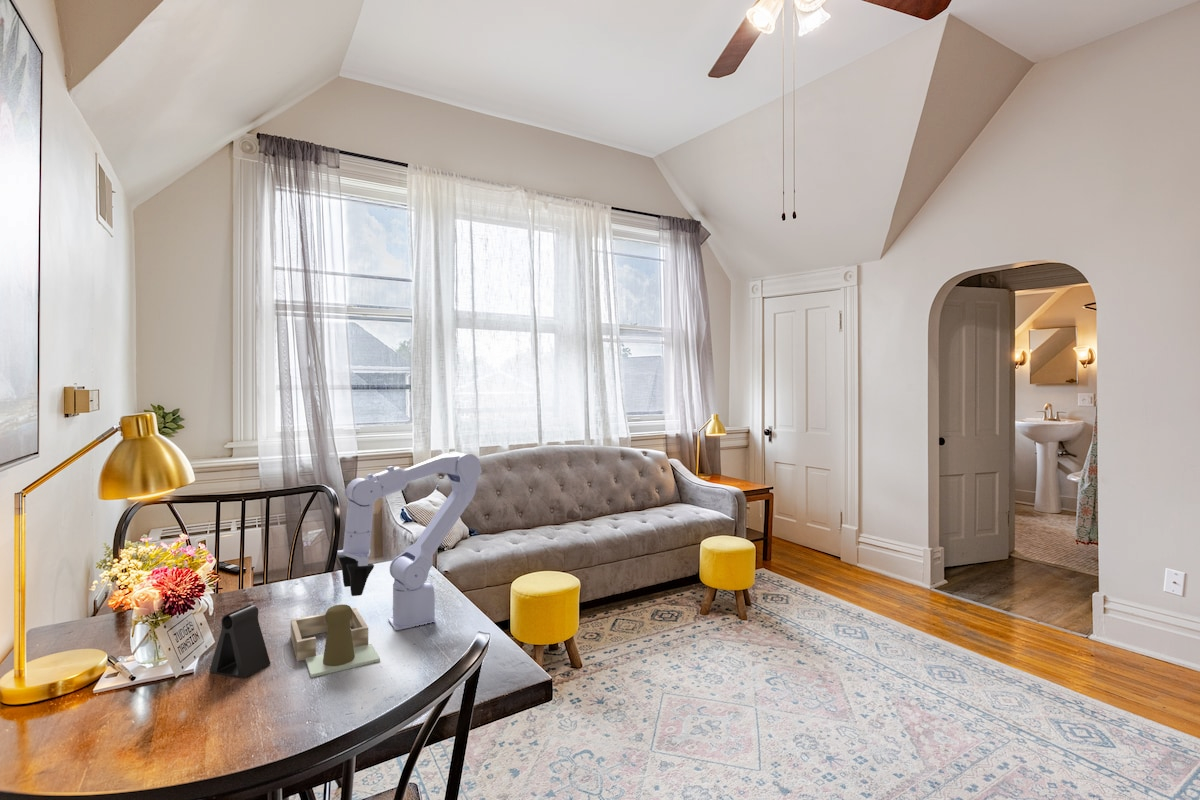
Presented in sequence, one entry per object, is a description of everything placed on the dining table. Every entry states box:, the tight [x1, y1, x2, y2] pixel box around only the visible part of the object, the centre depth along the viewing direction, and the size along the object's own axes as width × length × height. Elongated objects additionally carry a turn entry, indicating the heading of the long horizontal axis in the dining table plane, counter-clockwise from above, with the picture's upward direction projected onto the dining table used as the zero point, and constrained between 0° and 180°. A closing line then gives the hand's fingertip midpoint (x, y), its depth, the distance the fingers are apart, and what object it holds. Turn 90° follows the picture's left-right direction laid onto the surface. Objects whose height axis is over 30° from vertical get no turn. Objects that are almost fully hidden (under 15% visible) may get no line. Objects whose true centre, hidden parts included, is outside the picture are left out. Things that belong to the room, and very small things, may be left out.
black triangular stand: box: [208, 604, 271, 680], centre depth 117 cm, size 9×6×12 cm, turn 75°
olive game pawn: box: [323, 604, 355, 666], centre depth 120 cm, size 6×6×11 cm
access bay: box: [290, 607, 369, 662], centre depth 130 cm, size 14×14×4 cm
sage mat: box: [305, 643, 381, 678], centre depth 121 cm, size 13×8×1 cm, turn 123°
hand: (352, 590), depth 133 cm, fingers open, 7 cm apart
